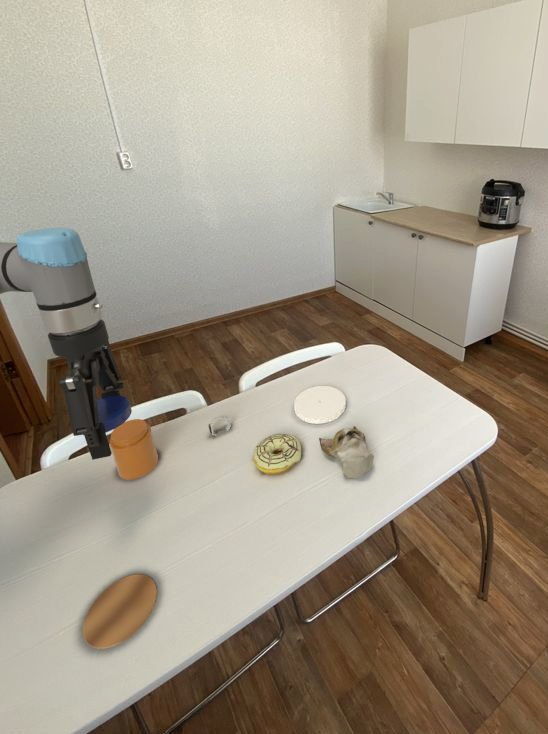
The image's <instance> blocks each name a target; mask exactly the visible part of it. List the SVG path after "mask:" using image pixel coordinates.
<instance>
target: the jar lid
mask: <svg viewBox="0 0 548 734" xmlns="http://www.w3.org/2000/svg"><path fill="white" fill-rule="evenodd" d="M97 406H98V418H99V423H103V426H104V430H105V433H108V432H111V431H113V430H114V429H115V428H117V427H119V426H120V425H122V424H123V423H124V422H126V421H128V419H129V418H130V417H131V415H132V406H131V402H130V399H129V398H128V397H126V396H124V395H120V396H119V395H115V396H108V397H103V398H102V397H100V398H97Z"/></svg>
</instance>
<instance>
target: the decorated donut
mask: <svg viewBox="0 0 548 734" xmlns="http://www.w3.org/2000/svg"><path fill="white" fill-rule="evenodd" d="M252 454H253V456H252V457H253V458H252V459H253V463H254V465H255V467H256V468H257V469H258V471H260V472H262V473H264V474H266V475H273V476H274V475H280V474H283V473H286V472H288V471H289V470H290V469H292V468H293V467H294V466H296V464H297V463H298V462H300V461H301V458H302V445H301V442H300V440H299V439H298V438H297V436H295V435H292V434H287V433H276V434H273V435H269V436H267V437H265V438H264V439H262V440H260V441H259V442H258V443H257V444H256V446H255V448H254V449H253V452H252Z"/></svg>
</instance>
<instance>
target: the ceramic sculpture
mask: <svg viewBox="0 0 548 734" xmlns="http://www.w3.org/2000/svg"><path fill="white" fill-rule="evenodd" d="M318 440H319V446H320V448H321V450H322V451H323V453H324V454H326V455H328V456H331V457H333V458H336V460H337V461H338V462H339V463H340V465H341V471H342V473H343V474H344V476H345V477H346V478H348V479H360V478H362V477H364V476H365V474H367V473H368V472H369V471H370V470H371V469H372V466H373V464H374V457H375V456H374V454H372V452H371V451H369V449H368V446H367V443H366V435H365V433H363V432H361V431H360V430H358V428H357V427H356V426H355V425H353V427H345V428H342V429H339V431H337V432H336V433H335V435H334V436H333V439H332V438H326V439H325V438H322V437H319V438H318Z"/></svg>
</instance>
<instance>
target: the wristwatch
mask: <svg viewBox="0 0 548 734" xmlns="http://www.w3.org/2000/svg"><path fill="white" fill-rule="evenodd" d="M219 420H226V421H227V425H226V426H225V430H226V432H227V431H228V432H229V430H230V429H231V425H232V423H231V419H230V417H229V416H228V415H226V414H220V415H217V416H215V417H213V418H212V419H211V421H209V423H208V430H209V433H210V435H212V436H215V437H217V433H216V432H215V431H214V424H215V422H218V421H219Z"/></svg>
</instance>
